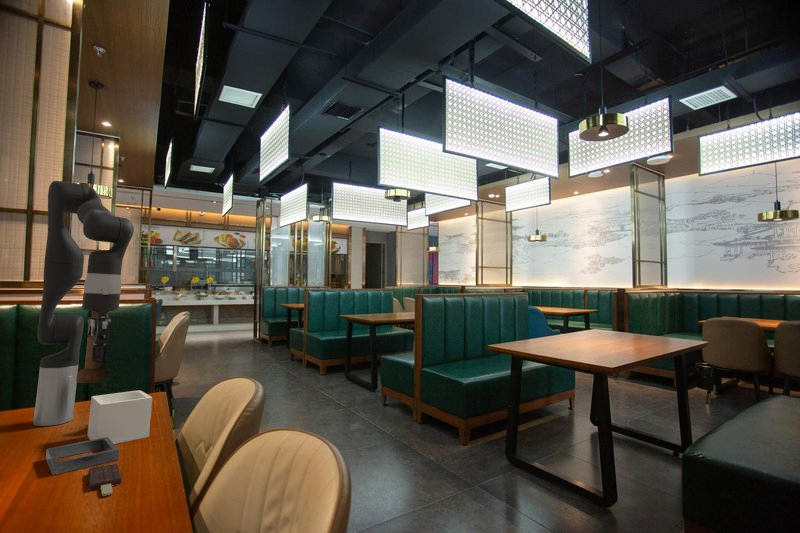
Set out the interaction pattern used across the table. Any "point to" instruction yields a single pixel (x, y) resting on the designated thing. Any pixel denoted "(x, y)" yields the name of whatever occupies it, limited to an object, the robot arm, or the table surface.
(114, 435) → the box
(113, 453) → the low collar
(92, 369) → the mortar and pestle
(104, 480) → the ice cream bar
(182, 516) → the table surface
